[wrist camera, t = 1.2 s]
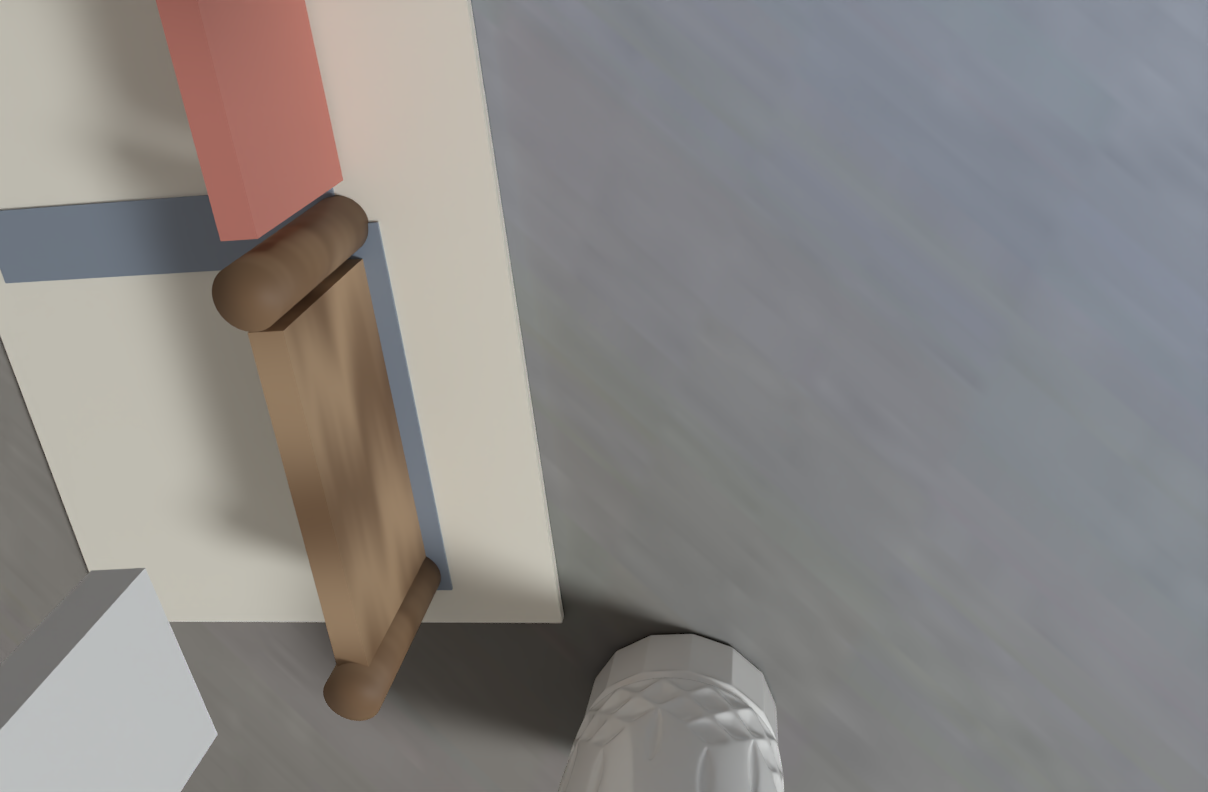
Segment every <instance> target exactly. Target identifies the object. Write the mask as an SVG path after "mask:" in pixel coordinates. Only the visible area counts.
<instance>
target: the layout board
mask: <svg viewBox="0 0 1208 792" xmlns="http://www.w3.org/2000/svg"><path fill="white" fill-rule="evenodd" d="M305 4H306V8H307V13H308V18H309V22H310V27H311V32H312V36H313V41H314V46H315V50H316V55H317V60H318V64H319V69H320V74H321V78H322V83H323V88H324V92H325V97H326V102H327V106H328V111H329V116H330V120H331V125H332V130H333V135H334V139H335V144H336V149H337V153H338V158H339V163H340V167H341V172H342V177H343V181H341V182H340V183H338V184H337V185H336V186H334V187H333V188H331V189H330V190H328V191H327V192H325V193H324V194H322V195H321V196H320V197H318V198H317V199H315V200H314V201H312V202H311V203H309V204H308V205H306V206H305V207H303V208H302V209H301V210H299V211H298V212H296V213H295V214H293V215H292V216H290V217H289V218H287V219H286V220H285V221H283V222H282V223H280V224H279V225H277V226H276V227H274V228H273V229H271V230H270V231H269V232H267V233H266V234H264V235H263V236H261V237H260V238H258V239H248V240H233V241H220V237H219V233H218V230H217V226H216V222H215V219H214V215H213V211H212V207H211V204H210V200H209V196H208V193H207V189H206V185H205V182H204V178H203V174H202V170H201V167H200V163H199V159H198V156H197V152H196V148H195V144H194V141H193V137H192V133H191V130H190V126H189V122H188V119H187V115H186V111H185V107H184V104H183V100H182V96H181V93H180V89H179V85H178V82H177V78H176V74H175V70H174V67H173V63H172V59H171V56H170V52H169V48H168V44H167V41H166V37H165V33H164V30H163V26H162V22H161V19H160V15H159V11H158V7H157V4H156V0H0V336H1V339H2V342H3V344H4V347H5V350H6V352H7V355H8V358H9V360H10V363H11V366H12V368H13V371H14V374H15V376H16V379H17V382H18V384H19V387H20V390H21V392H22V395H23V397H24V400H25V403H26V405H27V408H28V411H29V413H30V416H31V419H32V421H33V424H34V427H35V429H36V432H37V435H38V437H39V440H40V443H41V445H42V448H43V451H44V453H45V456H46V459H47V461H48V464H49V467H50V469H51V472H52V475H53V477H54V480H55V483H56V485H57V488H58V491H59V493H60V496H61V499H62V501H63V504H64V507H65V509H66V512H67V515H68V517H69V520H70V523H71V525H72V528H73V531H74V533H75V536H76V539H77V541H78V544H79V547H80V549H81V552H82V555H83V557H84V560H85V563H86V565H87V568H88V571H89V572H90V571H91V570H111V569H131V568H146V571H147V573H148V575H149V578H150V580H151V582H152V584H153V587H154V589H155V591H156V594H157V596H158V598H159V601H160V603H161V605H162V608H163V610H164V612H165V614H166V617H167V619H168V621H169V622H325V619H324V615H323V612H322V608H321V604H320V601H319V597H318V593H317V589H316V586H315V582H314V578H313V575H312V571H311V567H310V563H309V560H308V556H307V552H306V549H305V545H304V541H303V537H302V534H301V530H300V526H299V523H298V519H297V515H296V511H295V508H294V504H293V500H292V497H291V493H290V489H289V485H288V482H287V478H286V474H285V471H284V467H283V463H282V459H281V456H280V452H279V448H278V445H277V441H276V437H275V433H274V430H273V426H272V422H271V418H270V415H269V411H268V407H267V404H266V400H265V396H264V392H263V389H262V385H261V381H260V378H259V374H258V370H257V366H256V363H255V359H254V355H253V352H252V348H251V344H250V340H249V337H248V331H243V330H240V329H238V328H236V327H234V326H232V325H231V324H229V323H228V322H227V321H226V320H225V319H224V318H223V317H222V316H221V315H220V314H219V312H218V311H217V309H216V307H215V305H214V302H213V298H212V285H213V281H214V279H215V277H216V275H217V274H218V273H219V272H220V271H221V270H222V269H224V268H225V267H227V266H228V265H230V264H231V263H232V262H234V261H235V260H237V259H238V258H240V257H241V256H242V255H244V254H245V253H247V252H248V251H250V250H251V249H252V248H254V247H255V246H257V245H258V244H260V243H261V242H262V241H264V240H265V239H267V238H268V237H270V236H271V235H273V234H274V233H275V232H277V231H278V230H280V229H281V228H283V227H284V226H285V225H287V224H288V223H290V222H291V221H293V220H294V219H295V218H297V217H298V216H300V215H301V214H303V213H304V212H305V211H307V210H308V209H310V208H311V207H313V206H314V205H316V204H317V203H318V202H320V201H321V200H323V199H325V198H327V197H331V196H334V195H341V196H345V197H348V198H350V199H352V200H354V201H355V202H357V203H358V204H359V205H360V206H361V207H362V208H363V210H364V211H365V213H366V215H367V217H368V221H369V223H368V236H367V239H366V241H365V243H364V244H363V246H362V247H361V248H359V249H358V250H357V251H356V252H355V253H354V254H353V255H351V256H350V257H349V258H348V259H347V260H349V259H363V262H364V267H365V272H366V276H367V281H368V286H369V290H370V295H371V300H372V304H373V309H374V314H375V319H376V323H377V328H378V333H379V337H380V342H381V347H382V351H383V356H384V361H385V366H386V370H387V375H388V380H389V384H390V389H391V394H392V398H393V403H394V408H395V413H396V417H397V422H398V427H399V431H400V436H401V441H402V445H403V450H404V455H405V460H406V464H407V469H408V474H409V478H410V483H411V488H412V493H413V497H414V502H415V507H416V511H417V516H418V521H419V525H420V530H421V535H422V540H423V544H424V549H425V554H426V557H428V558H430V559H431V560H432V561H433V562H434V563H435V564H436V565H437V567H438V568H439V570H440V574H441V582H440V585H439V587H438V589H437V591H436V593H435V595H434V597H433V599H432V601H431V603H430V605H429V607H428V610H427V612H426V614H425V616H424V618H423V620H422V622H429V623H562V621H563V618H564V613H563V606H562V600H561V593H560V587H559V580H558V573H557V567H556V560H555V554H554V547H553V540H552V534H551V527H550V521H549V514H548V507H547V501H546V494H545V488H544V481H543V474H542V468H541V461H540V455H539V448H538V441H537V435H536V428H535V422H534V415H533V408H532V402H531V395H530V389H529V382H528V375H527V369H526V362H525V356H524V349H523V342H522V336H521V329H520V323H519V316H518V309H517V303H516V296H515V290H514V283H513V276H512V270H511V263H510V257H509V250H508V243H507V237H506V230H505V223H504V217H503V210H502V204H501V197H500V190H499V184H498V177H497V171H496V164H495V157H494V151H493V144H492V138H491V131H490V124H489V118H488V111H487V105H486V98H485V91H484V85H483V78H482V72H481V65H480V58H479V52H478V45H477V39H476V32H475V25H474V19H473V12H472V6H471V0H305Z"/></svg>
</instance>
